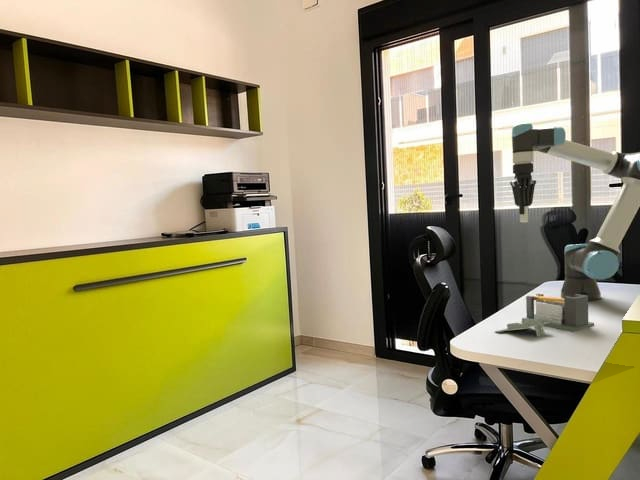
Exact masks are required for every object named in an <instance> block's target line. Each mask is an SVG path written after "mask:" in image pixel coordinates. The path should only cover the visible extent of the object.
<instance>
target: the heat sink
mask: <svg viewBox="0 0 640 480" xmlns="http://www.w3.org/2000/svg"><path fill="white" fill-rule="evenodd" d="M539 295H541V296H545V295H544V293H535V295H534V296H539ZM534 296H533V295H527V296H525V297H526V298H525V299H526V301H525V302H526V303H525V305H526V306H525V307H526V317H529V318H534V315H535V320H538V319H540V318H543V319H544V322H550V323H552V324H557V325H565V306H564V302H557V301H546V300H534Z"/></svg>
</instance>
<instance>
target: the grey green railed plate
mask: <svg viewBox="0 0 640 480" xmlns="http://www.w3.org/2000/svg"><path fill="white" fill-rule="evenodd" d="M529 319H534V320H535V314H534V318H529V317H527V316H526V317H522V318H521V321H522V320H529ZM544 323H547V322H544ZM543 326H546V327H552V328H555V329H559V330H564V331H569V332H575V331H579V330H583V329H586V328H589V327H593V326H595V322H591V321H588V324H586V325H583V326H579V327H572V326H567V325H557V324H552V323H547V324H543Z"/></svg>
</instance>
